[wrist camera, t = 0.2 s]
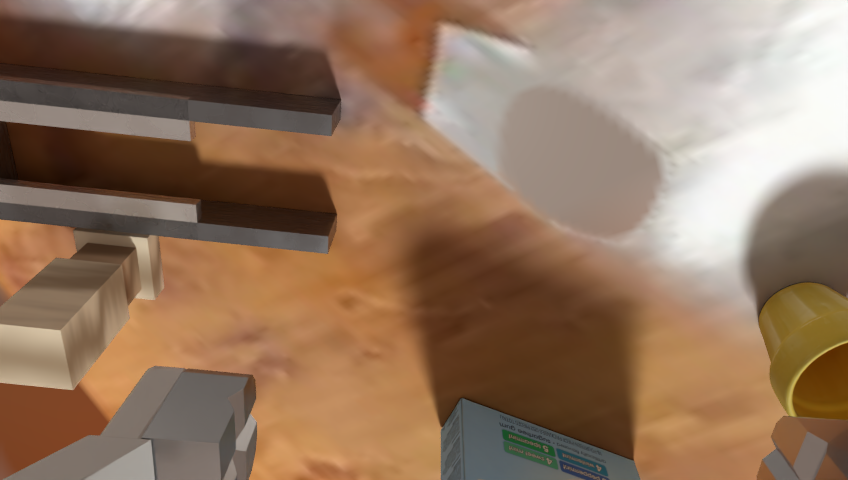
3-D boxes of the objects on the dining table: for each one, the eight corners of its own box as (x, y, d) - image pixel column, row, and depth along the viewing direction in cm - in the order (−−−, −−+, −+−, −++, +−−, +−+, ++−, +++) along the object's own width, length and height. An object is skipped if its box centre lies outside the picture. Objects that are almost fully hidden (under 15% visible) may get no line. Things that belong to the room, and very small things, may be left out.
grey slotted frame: (-28, 60, 47) (-68, 72, 43) (341, 99, 47) (331, 115, 43) (4, 195, 52) (-29, 216, 48) (336, 230, 52) (327, 253, 48)
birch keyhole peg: (85, 219, 52) (-28, 315, 40) (157, 227, 53) (66, 324, 40) (96, 280, 55) (-7, 387, 43) (164, 287, 55) (81, 396, 43)
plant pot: (718, 356, 56) (767, 437, 48) (757, 257, 52) (818, 326, 43) (833, 367, 57) (902, 449, 48) (881, 268, 52) (968, 340, 43)
